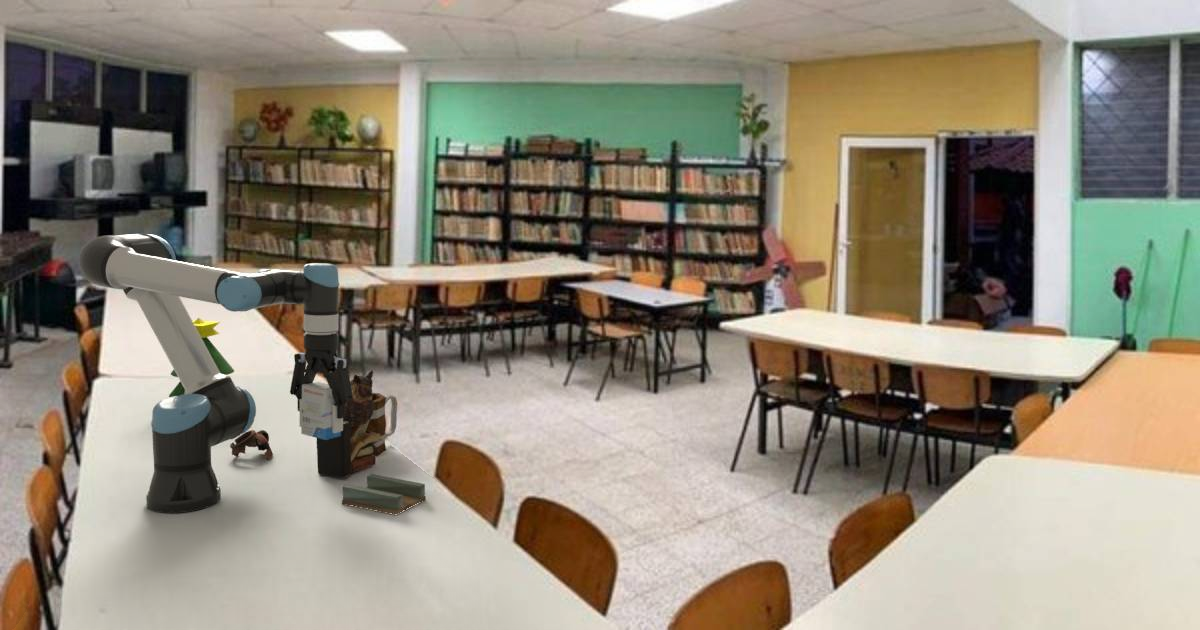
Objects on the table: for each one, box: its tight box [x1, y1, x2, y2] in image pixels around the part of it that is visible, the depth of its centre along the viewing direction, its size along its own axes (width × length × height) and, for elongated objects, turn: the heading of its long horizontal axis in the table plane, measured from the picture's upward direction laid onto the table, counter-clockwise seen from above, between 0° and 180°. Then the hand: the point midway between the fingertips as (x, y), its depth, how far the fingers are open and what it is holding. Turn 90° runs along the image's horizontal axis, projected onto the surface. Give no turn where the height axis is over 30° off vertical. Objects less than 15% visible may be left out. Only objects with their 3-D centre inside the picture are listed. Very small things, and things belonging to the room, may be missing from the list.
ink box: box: [300, 381, 341, 440], centre depth 205 cm, size 9×5×12 cm, turn 58°
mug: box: [366, 392, 398, 457], centre depth 244 cm, size 20×14×15 cm
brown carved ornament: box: [229, 429, 274, 461], centre depth 235 cm, size 12×10×8 cm
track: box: [341, 473, 427, 515], centre depth 204 cm, size 11×15×4 cm
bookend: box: [316, 370, 382, 478], centre depth 225 cm, size 15×11×25 cm
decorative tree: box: [168, 317, 235, 398], centre depth 276 cm, size 19×19×30 cm
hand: (321, 428), depth 205 cm, fingers closed on ink box, 9 cm apart
